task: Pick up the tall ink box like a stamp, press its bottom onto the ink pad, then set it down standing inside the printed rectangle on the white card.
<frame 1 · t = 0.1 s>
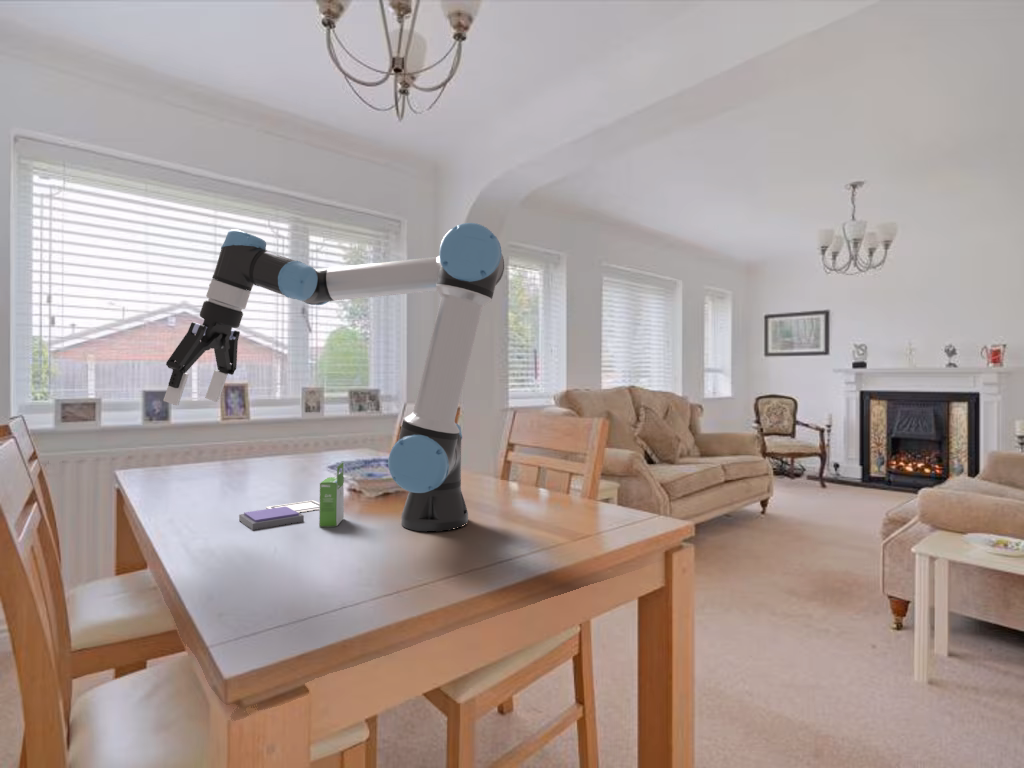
hand: (192, 401, 113), 28 cm above the table, tool tilted 20°, fingers open, 13 cm apart
print sheet: (297, 508, 137), on the table
ink box: (331, 523, 124), on the table
ink pad: (271, 521, 125), on the table
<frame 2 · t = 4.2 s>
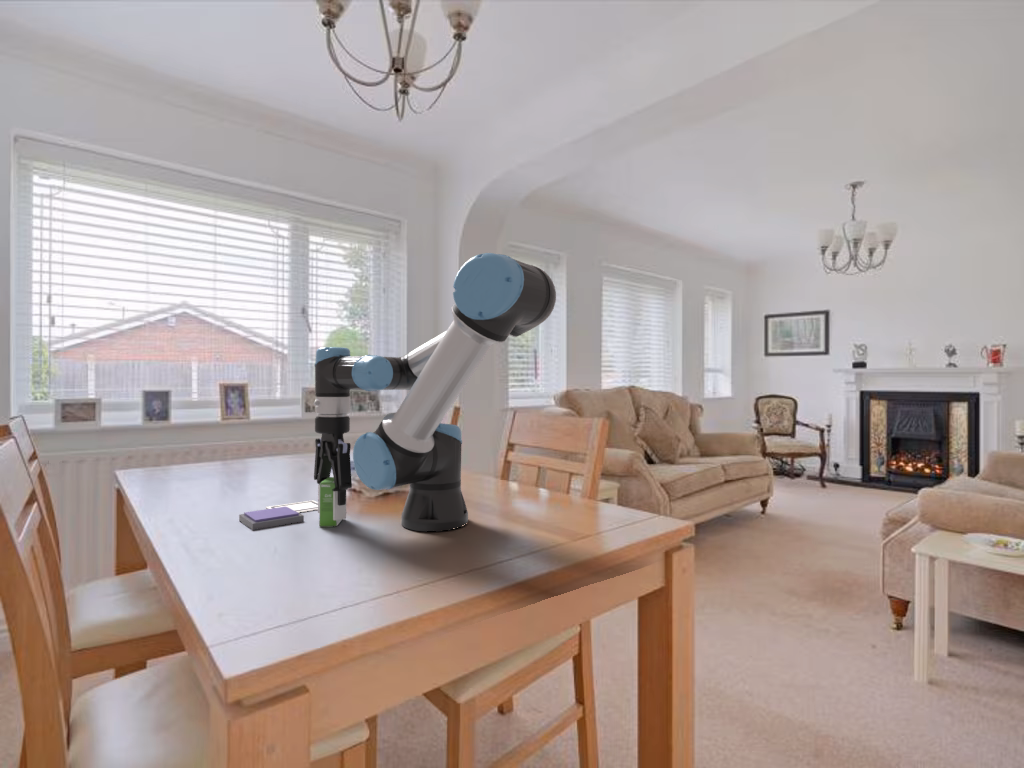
hand: (331, 515, 124), 2 cm above the table, tool pointing down, fingers closed on ink box, 8 cm apart
ink box: (331, 523, 124), on the table, touching gripper
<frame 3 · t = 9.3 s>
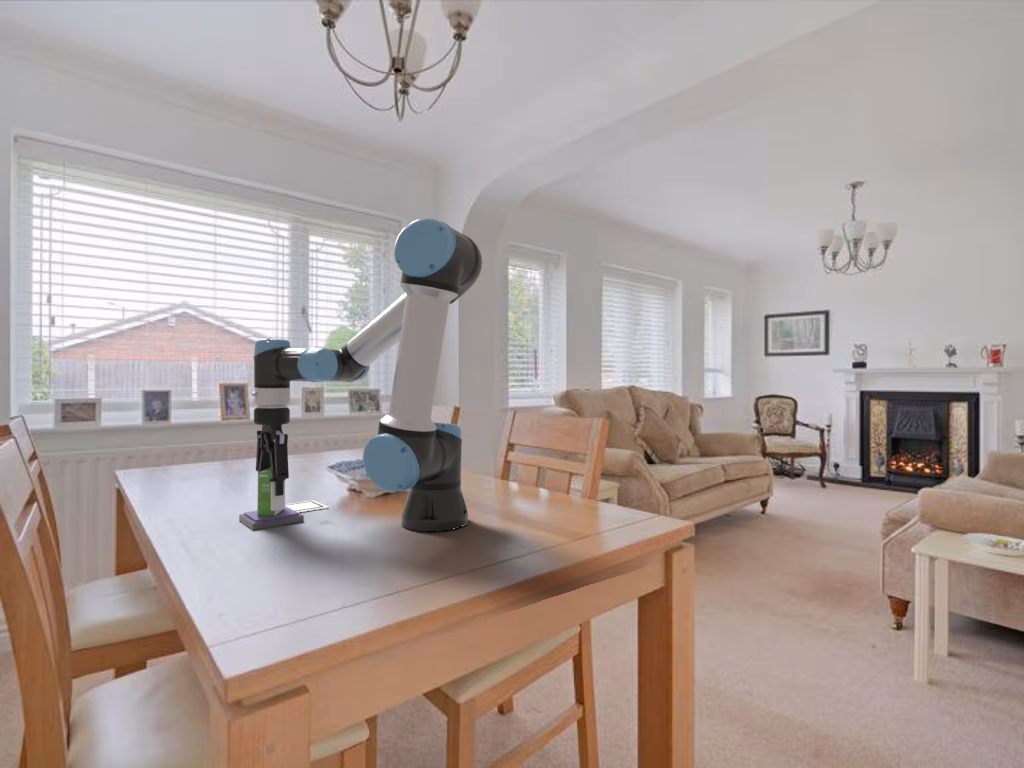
hand: (271, 506, 124), 3 cm above the table, tool pointing down, fingers closed on ink box, 8 cm apart
ink box: (271, 513, 125), point 2 cm above the table, touching gripper, ink pad
when the fingers open (3 cm above the table, at t = 14.8 s): ink box stays where it is, resting on print sheet.
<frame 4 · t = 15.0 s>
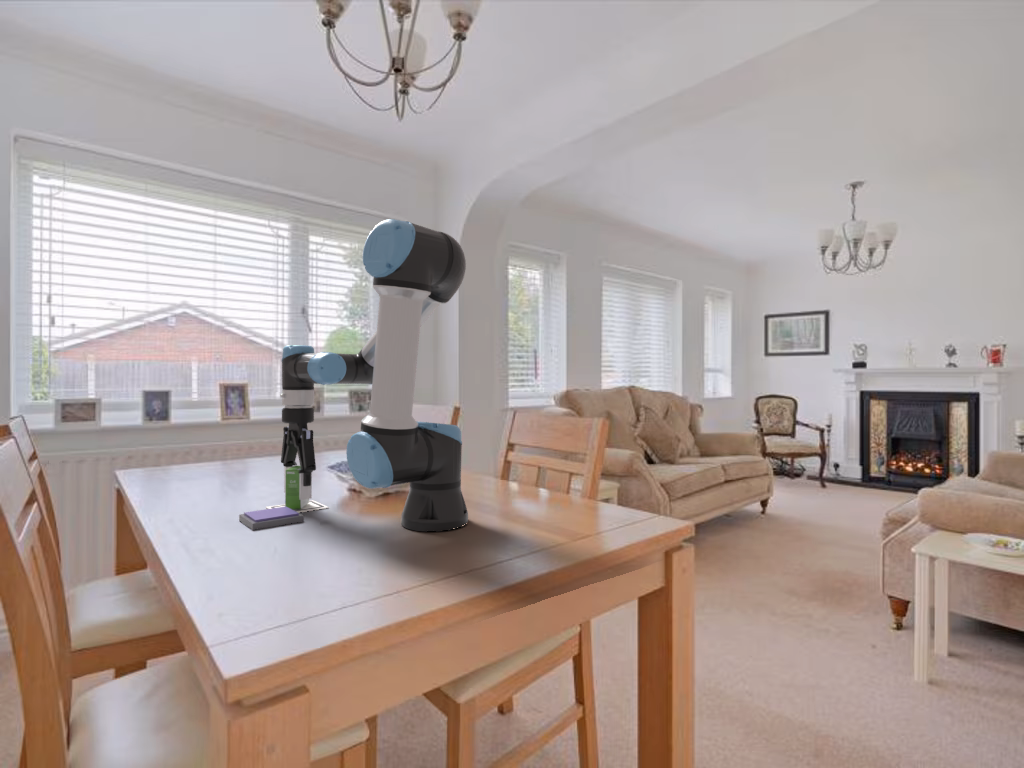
hand: (297, 495, 137), 3 cm above the table, tool pointing down, fingers open, 10 cm apart
ink box: (297, 507, 137), resting on print sheet
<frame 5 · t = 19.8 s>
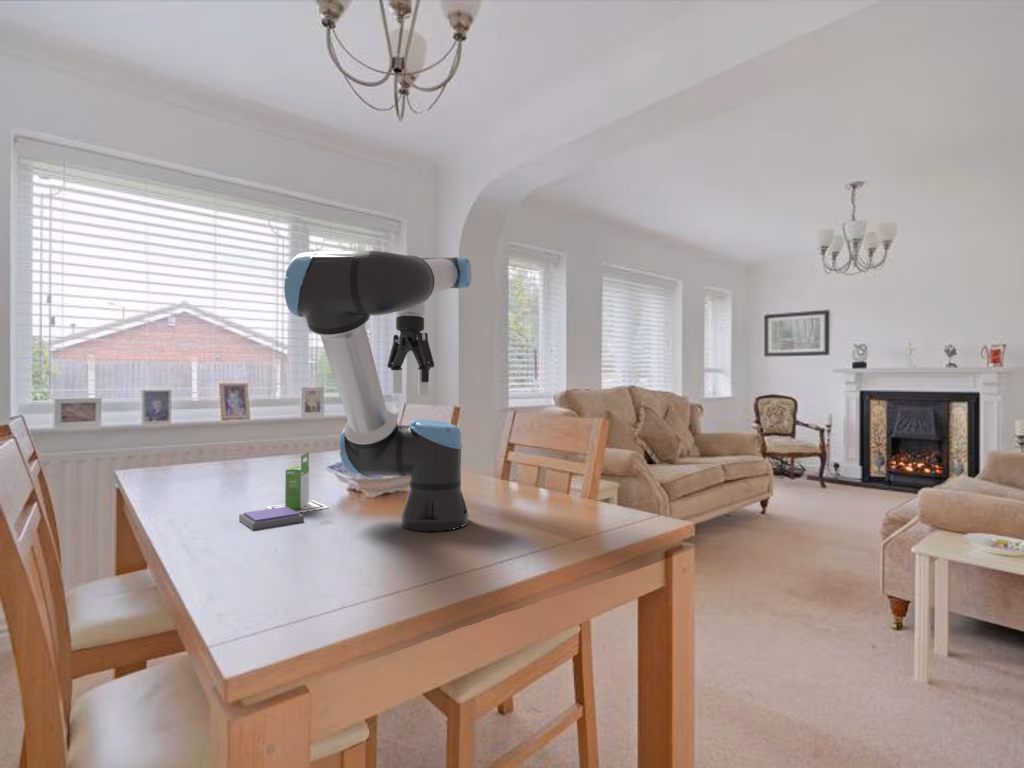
hand: (409, 394, 148), 29 cm above the table, tool pointing down, fingers open, 13 cm apart
nothing on the table moved.
at the end: ink box inside the target area on the print sheet (0.1 cm from its centre), point 0.2 cm above the print sheet's base; ink box tilted 0°; the gripper is holding nothing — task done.
